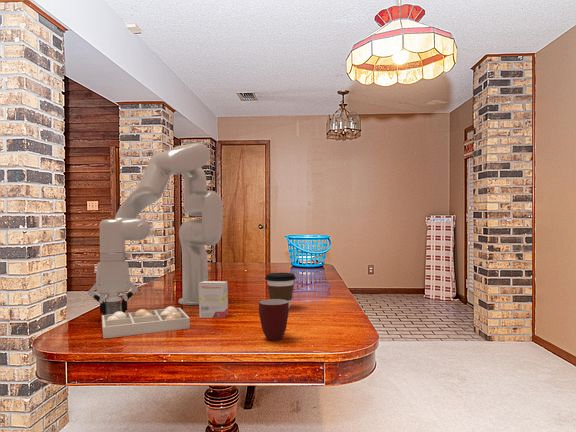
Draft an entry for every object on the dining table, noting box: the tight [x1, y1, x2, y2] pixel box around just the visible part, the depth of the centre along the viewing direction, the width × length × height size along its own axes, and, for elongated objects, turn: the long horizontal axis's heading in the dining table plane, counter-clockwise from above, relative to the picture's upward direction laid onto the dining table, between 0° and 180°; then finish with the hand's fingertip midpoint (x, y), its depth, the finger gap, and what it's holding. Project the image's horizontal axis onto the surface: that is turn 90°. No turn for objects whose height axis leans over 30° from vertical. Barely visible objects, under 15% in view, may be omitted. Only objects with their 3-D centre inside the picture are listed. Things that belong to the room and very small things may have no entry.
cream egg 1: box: [107, 311, 127, 320], centre depth 132 cm, size 6×4×4 cm
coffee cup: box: [264, 272, 297, 308], centre depth 158 cm, size 11×11×12 cm
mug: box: [258, 298, 290, 342], centre depth 121 cm, size 11×8×10 cm
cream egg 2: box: [160, 305, 177, 315], centre depth 138 cm, size 6×4×4 cm
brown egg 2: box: [164, 311, 182, 320], centre depth 131 cm, size 6×4×4 cm
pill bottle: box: [104, 293, 123, 315], centre depth 142 cm, size 5×5×10 cm
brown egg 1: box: [134, 308, 153, 317], centre depth 135 cm, size 6×4×4 cm
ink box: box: [198, 280, 229, 319], centre depth 145 cm, size 9×5×12 cm, turn 82°
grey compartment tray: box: [101, 307, 191, 340], centre depth 132 cm, size 23×16×4 cm
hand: (113, 313), depth 142 cm, fingers closed on pill bottle, 5 cm apart
